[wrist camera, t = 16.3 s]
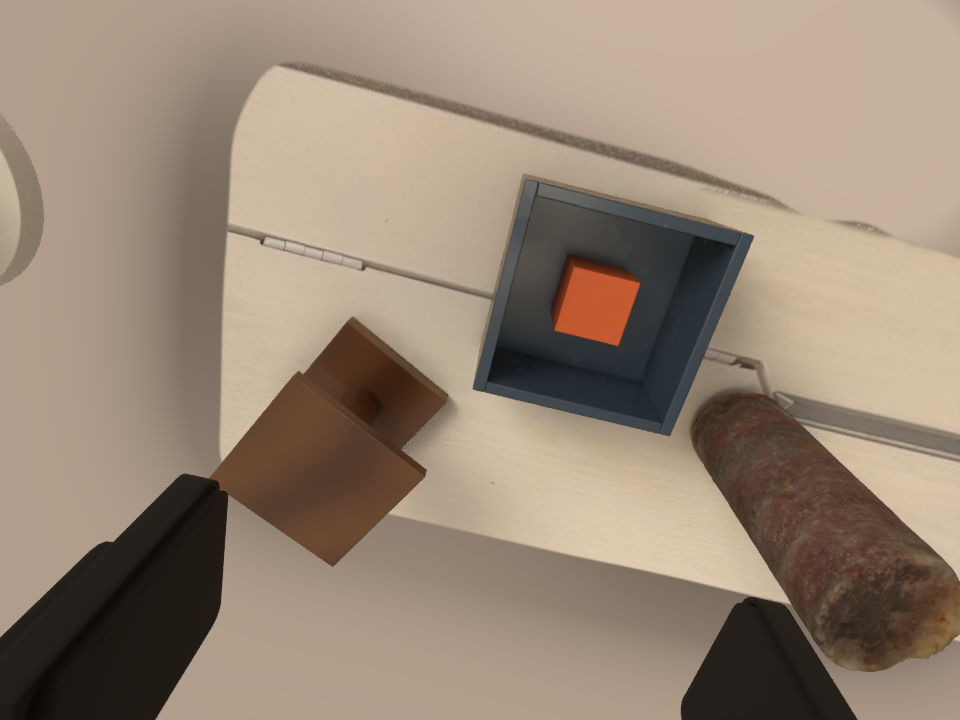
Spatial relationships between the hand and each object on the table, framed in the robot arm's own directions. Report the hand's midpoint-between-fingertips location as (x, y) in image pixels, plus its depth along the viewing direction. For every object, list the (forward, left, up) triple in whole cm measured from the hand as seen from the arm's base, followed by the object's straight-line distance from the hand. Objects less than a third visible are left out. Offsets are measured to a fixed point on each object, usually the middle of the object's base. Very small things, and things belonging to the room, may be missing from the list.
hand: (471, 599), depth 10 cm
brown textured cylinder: (+23, +3, -32) cm, 40 cm away
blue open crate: (+6, +3, -32) cm, 33 cm away
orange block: (+6, +3, -31) cm, 32 cm away
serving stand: (-1, -16, -32) cm, 36 cm away
